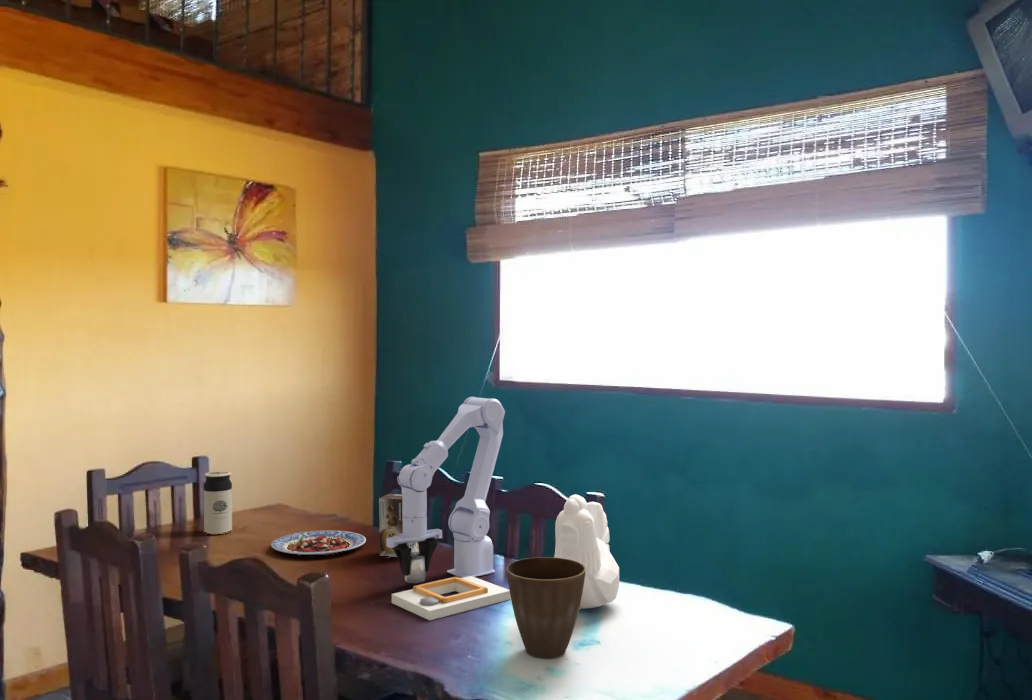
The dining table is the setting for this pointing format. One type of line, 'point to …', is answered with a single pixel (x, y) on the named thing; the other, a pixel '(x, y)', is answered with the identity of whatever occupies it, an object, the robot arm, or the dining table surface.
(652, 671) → the dining table surface
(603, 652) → the dining table surface
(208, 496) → the travel mug
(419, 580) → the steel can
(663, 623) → the dining table surface
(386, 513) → the coffee box
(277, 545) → the ceramic plate
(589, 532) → the decorative rooster
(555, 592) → the plant pot
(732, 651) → the dining table surface
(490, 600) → the white flat frame
